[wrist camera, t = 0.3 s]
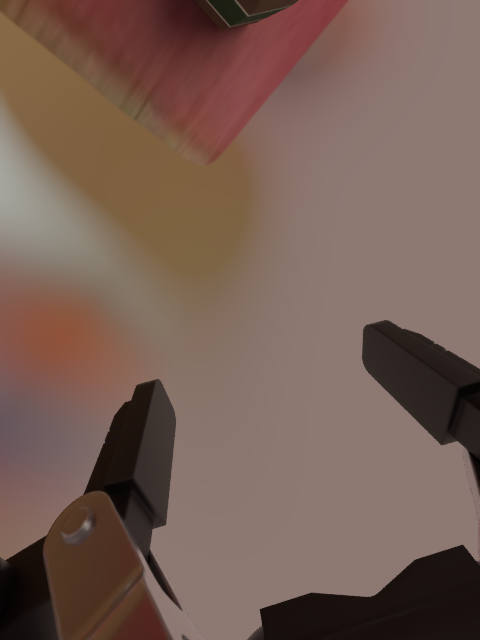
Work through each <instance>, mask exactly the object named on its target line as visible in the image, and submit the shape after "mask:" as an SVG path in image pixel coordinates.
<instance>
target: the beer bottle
mask: <svg viewBox="0 0 480 640" xmlns="http://www.w3.org/2000/svg"><path fill="white" fill-rule="evenodd" d="M194 1H195V2H196V3H197V4H198V5H199V6H200V7H201V9H202V10H203V11H204V12H205V13H206V14H207V15H208V16H209V17H210V19H211V20H212V21H213V22H214V23H215V24H216V25H217V26H218V27H219V28H220V30H227V29H231V28H235V27H240V26H244V25H248V24H252V23H256V22H258V21H260V20H262V19H264V18H267V17H269V16H271V15H273V14H275V13H277V12H279V11H281V10H283V9H286V8H288V7H290V6H292V5H293V4H294V3H296V2H297V1H298V0H194Z"/></svg>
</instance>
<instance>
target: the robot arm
mask: <svg viewBox="0 0 480 640" xmlns="http://www.w3.org/2000/svg"><path fill="white" fill-rule="evenodd" d="M362 360H363V364H364V366H365V368H366V370H367V371H368V373H369V374H370V375H371V376H372V377H373V378H374V379H375V380H376V381H377V382H378V383H379V384H380V385H381V386H382V387H383V388H384V389H385V390H386V391H387V392H388V393H389V394H391V396H393V397H394V398H395V400H396V401H397V402H399V403H400V405H402V406H403V407H404V409H405V410H407V411H408V412H409V413H410V414H411V415H412V416H413V417H414V418H415V419H416V420H417V421H418V422H419V423H420V424H421V425H422V426H423V427H424V428H425V429H426V430H427V431H428V432H429V433H430V434H431V435H432V436H433V437H434V438H435V439H436V440H437V441H438V442H439V443H440V444H441V445H445V444H448V443H452V442H455V441H458V442H459V443H461V444H462V445H463V446H464V448H463V451H462V455H463V459H464V463H465V468H466V472H467V476H468V480H469V484H470V488H471V492H472V497H473V501H474V505H475V509H476V513H477V517H478V523H479V534H478V553H479V561H480V369H479V368H477V367H476V366H474V365H472V364H470V363H469V362H467V361H465V360H464V359H462V358H460V357H458V356H457V355H455V354H453V353H452V352H450V351H446V350H445V348H443V347H441V346H440V345H438V344H434V342H433V341H431V340H430V339H428V338H426V337H424V336H423V335H421V334H418V333H415V332H412V331H409V330H406V329H401V328H400V327H398V326H396V325H395V324H393V323H392V322H390V321H388V320H384V321H380V322H376V323H372V324H369V325H366V326H365V327H364V329H363V350H362ZM175 428H176V418H175V412H174V409H173V406H172V404H171V402H170V400H169V398H168V396H167V393H166V391H165V389H164V387H163V385H162V383H161V381H160V380H159V379H157V380H153V381H149V382H145V383H142V384H138V385H137V386H136V388H135V391H134V394H133V397H132V400H131V401H128V402H125V403H124V404H123V405H122V407H121V408H120V409H119V411H118V412H117V413H116V414H115V416H114V418H113V421H112V423H111V426H110V431H109V432H108V434H107V436H106V439H105V443H104V444H103V447H102V449H101V452H100V454H99V457H98V459H97V462H96V464H95V467H94V470H93V472H92V474H91V477H90V480H89V482H88V485H87V488H86V490H85V492H84V494H83V496H81V497H79V498H78V499H76V500H75V501H74V502H72V503H71V504H70V505H69V506H68V507H67V508H66V509H65V510H64V511H63V512H62V513H61V514H60V515H59V517H58V518H57V519H56V520H55V522H54V524H53V525H52V527H51V529H50V530H49V532H48V534H47V535H46V536H45V537H43V538H42V539H40V540H38V541H37V542H35V543H33V544H32V545H30V546H28V547H27V548H25V549H23V550H22V551H20V552H18V553H17V554H15V555H14V556H12V557H10V558H9V559H7V560H4V559H2V558H1V557H0V640H205V639H204V637H203V636H202V634H201V633H200V631H199V629H198V628H197V627H196V625H195V624H194V622H193V621H192V619H191V618H190V616H189V614H188V613H187V611H186V609H185V607H184V606H183V604H182V602H181V600H180V598H179V597H178V595H177V593H176V591H175V589H174V588H173V586H172V584H171V582H170V580H169V579H168V577H167V575H166V573H165V571H164V570H163V568H162V566H161V564H160V562H159V560H158V559H157V557H156V555H155V553H154V551H153V550H152V548H151V547H150V543H151V535H152V529H154V528H157V527H161V526H164V525H166V519H167V509H168V499H169V489H170V478H171V469H172V458H173V448H174V437H175ZM260 614H261V620H262V626H261V627H260V628H259V629H257V630H256V631H255V632H254V633H253V634H252V635H251V636H250V637H249V638H248V639H247V640H480V562H478V561H475V560H474V558H473V557H472V556H471V554H470V553H469V552H468V550H467V549H466V548H465V547H464V545H460V546H457V547H454V548H451V549H448V550H444V551H441V552H438V553H435V554H432V555H429V556H425V557H422V558H419V559H416V560H414V561H413V562H412V563H411V564H410V565H409V566H407V567H406V569H404V570H403V571H402V572H401V573H400V574H399V575H397V576H396V577H395V579H393V580H392V581H391V582H390V583H389V584H388V585H386V586H385V588H383V589H382V590H381V591H380V592H379V593H378V594H376V595H375V596H372V597H360V596H347V595H334V594H321V593H309V594H306V595H303V596H300V597H297V598H293V599H290V600H287V601H284V602H281V603H278V604H275V605H271V606H268V607H265V608H262V609H260Z"/></svg>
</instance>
